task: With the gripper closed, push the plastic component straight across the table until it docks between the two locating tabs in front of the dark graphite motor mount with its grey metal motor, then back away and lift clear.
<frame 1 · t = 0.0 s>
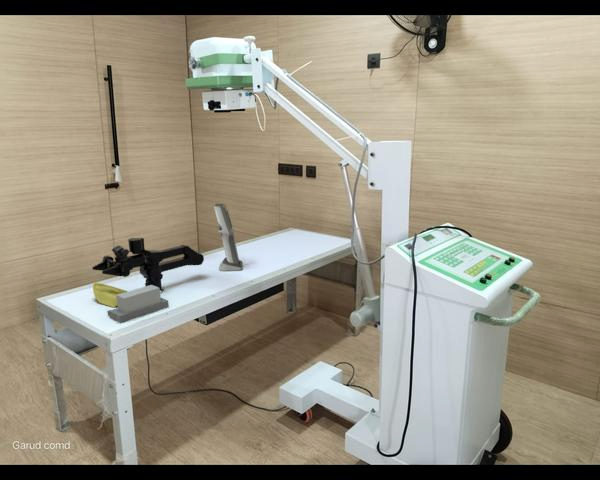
hand: (97, 270, 204), 17 cm above the table, tool horizontal, fingers open, 9 cm apart
motor mount: (140, 312, 201), on the table
plastic component: (114, 300, 216), on the table
grey tall upright piece: (231, 268, 259), on the table
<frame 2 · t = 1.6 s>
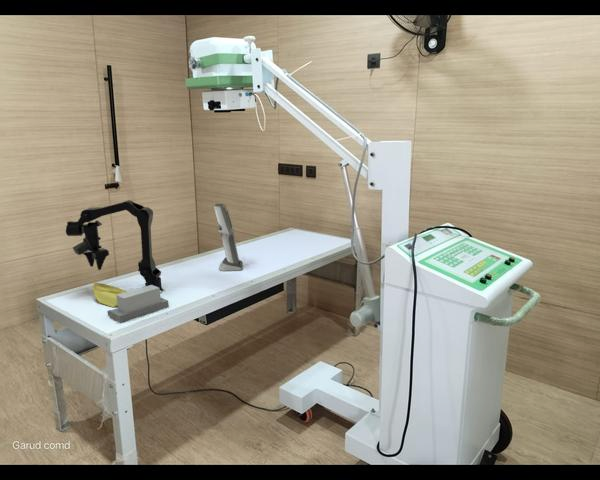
hand: (95, 268, 223), 12 cm above the table, tool pointing down, fingers open, 8 cm apart
nothing on the table moved.
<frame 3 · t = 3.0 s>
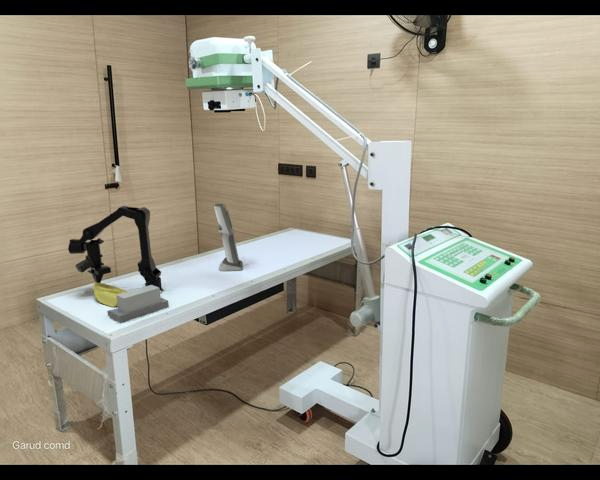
hand: (98, 284, 225), 4 cm above the table, tool pointing down, fingers closed
nothing on the table moved.
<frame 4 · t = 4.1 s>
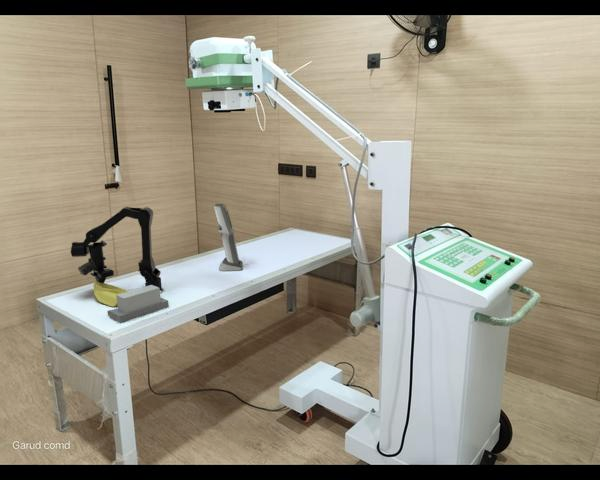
hand: (101, 287, 223), 3 cm above the table, tool pointing down, fingers closed
plastic component: (114, 300, 216), on the table, touching gripper
everything else where it was.
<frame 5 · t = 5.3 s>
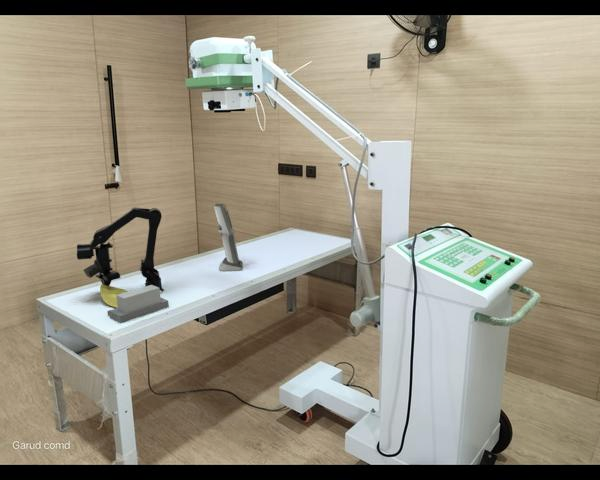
hand: (106, 290, 219), 3 cm above the table, tool pointing down, fingers closed
plastic component: (122, 302, 213), on the table, touching gripper
everything else where it was.
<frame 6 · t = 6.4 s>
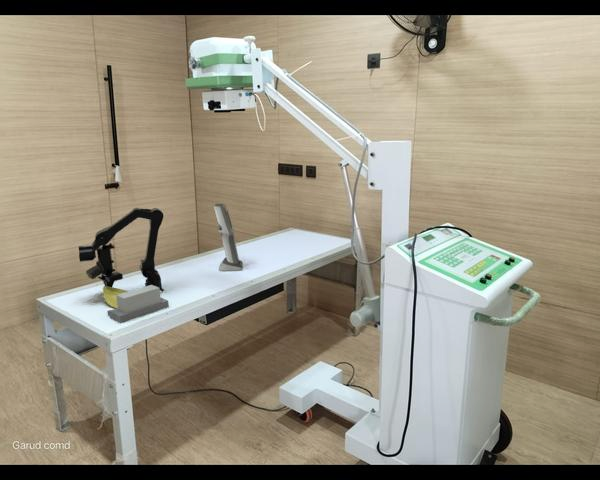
hand: (109, 291, 218), 3 cm above the table, tool pointing down, fingers closed
plastic component: (125, 304, 211), on the table
everything else where it was.
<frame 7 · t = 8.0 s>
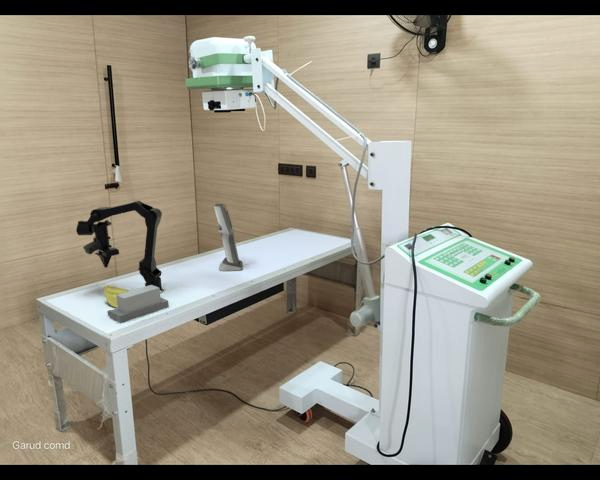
hand: (105, 267, 224), 12 cm above the table, tool pointing down, fingers closed
nothing on the table moved.
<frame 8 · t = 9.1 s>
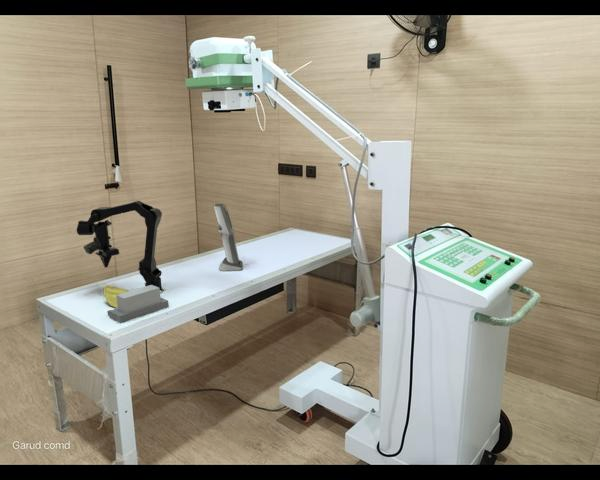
hand: (106, 267, 224), 12 cm above the table, tool pointing down, fingers closed
nothing on the table moved.
at the end: plastic component 1.5 cm from the target spot, on the table; plastic component tilted 1° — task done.
